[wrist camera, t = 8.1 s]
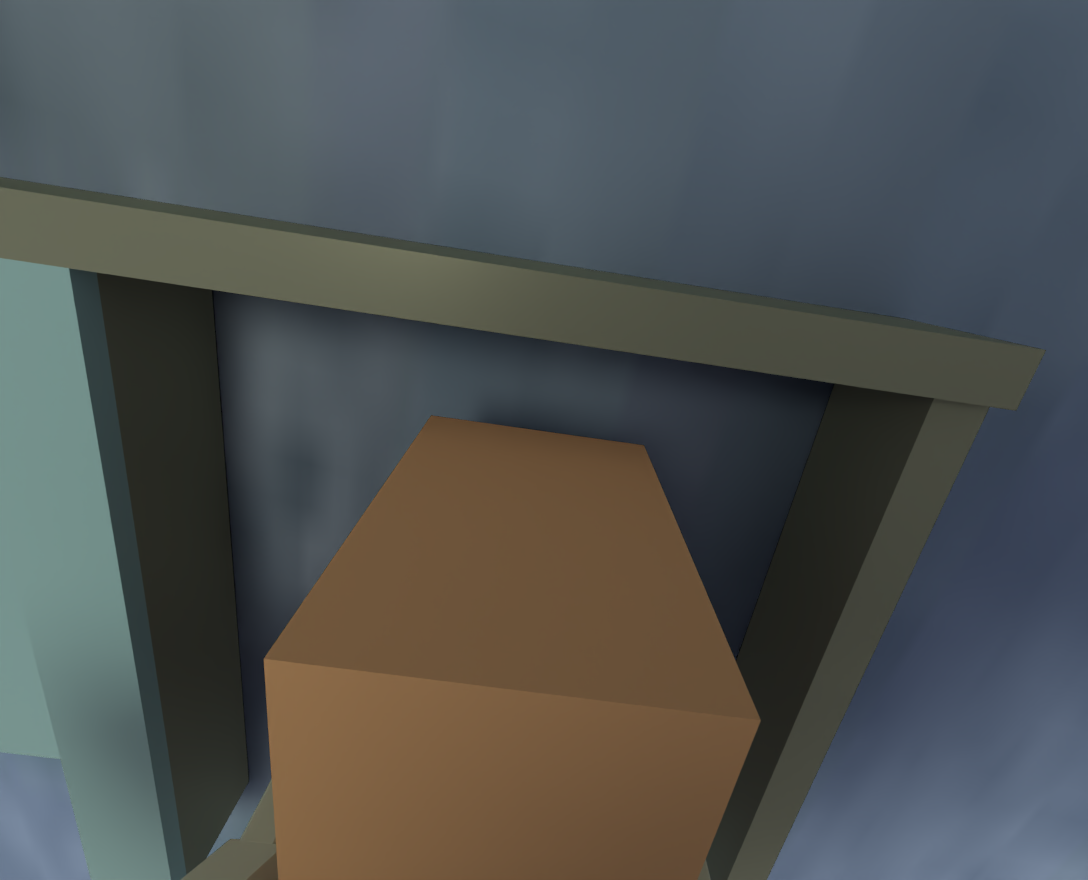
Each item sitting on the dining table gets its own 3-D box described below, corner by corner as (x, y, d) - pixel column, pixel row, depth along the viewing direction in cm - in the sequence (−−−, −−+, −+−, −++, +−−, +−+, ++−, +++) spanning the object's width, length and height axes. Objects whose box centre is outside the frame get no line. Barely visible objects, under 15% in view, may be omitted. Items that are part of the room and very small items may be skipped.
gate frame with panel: (904, 318, 11) (1045, 350, 8) (705, 832, 17) (741, 969, 14) (-689, 69, 10) (-1279, -12, 7) (-311, 718, 16) (-530, 839, 13)
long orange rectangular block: (644, 445, 10) (760, 720, 4) (550, 853, 14) (547, 1255, 9) (431, 415, 10) (264, 657, 4) (402, 836, 14) (302, 1234, 8)
